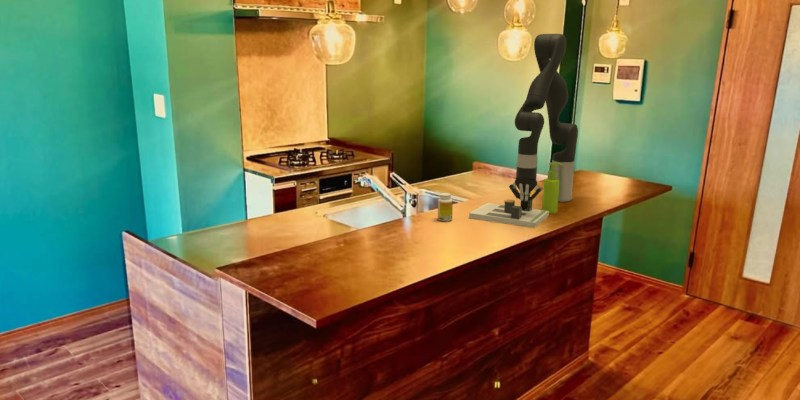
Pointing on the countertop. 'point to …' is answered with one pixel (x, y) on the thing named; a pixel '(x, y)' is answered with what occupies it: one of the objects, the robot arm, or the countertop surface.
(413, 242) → the countertop surface
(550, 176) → the soap dispenser
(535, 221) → the breaker panel
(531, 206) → the breaker
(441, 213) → the supplement bottle
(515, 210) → the block
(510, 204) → the breaker mid
